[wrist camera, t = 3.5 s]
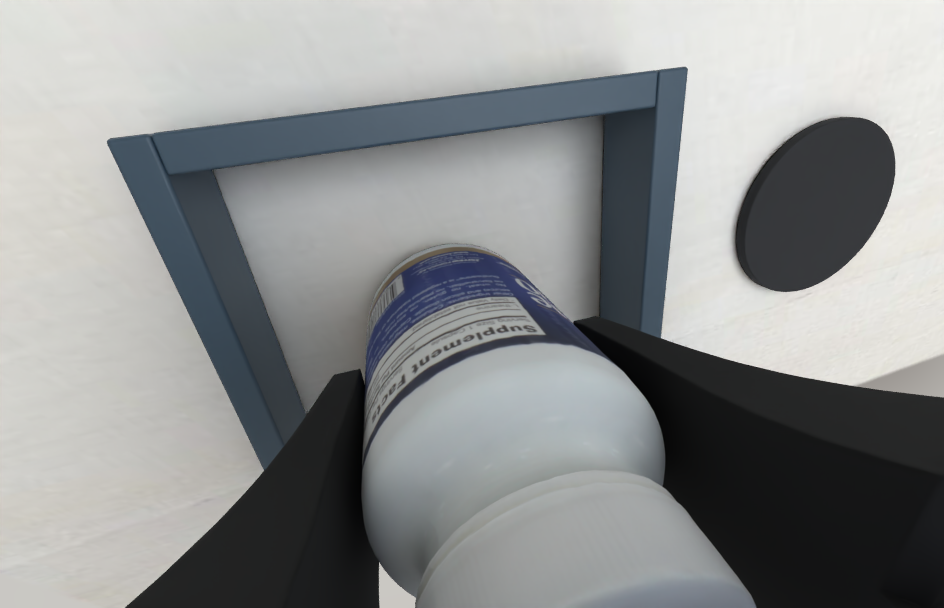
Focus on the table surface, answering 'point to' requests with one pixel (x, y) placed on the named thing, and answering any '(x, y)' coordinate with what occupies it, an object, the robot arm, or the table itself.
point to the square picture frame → (228, 145)
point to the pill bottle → (516, 454)
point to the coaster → (815, 203)
